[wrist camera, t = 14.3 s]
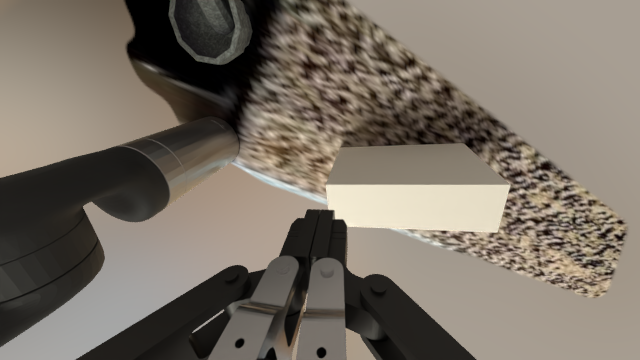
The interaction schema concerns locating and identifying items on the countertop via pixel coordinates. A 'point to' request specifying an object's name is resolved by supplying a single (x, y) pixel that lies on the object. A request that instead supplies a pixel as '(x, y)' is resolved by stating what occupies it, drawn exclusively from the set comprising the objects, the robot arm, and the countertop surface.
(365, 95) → the countertop surface
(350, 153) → the control box
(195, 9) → the mortar and pestle
